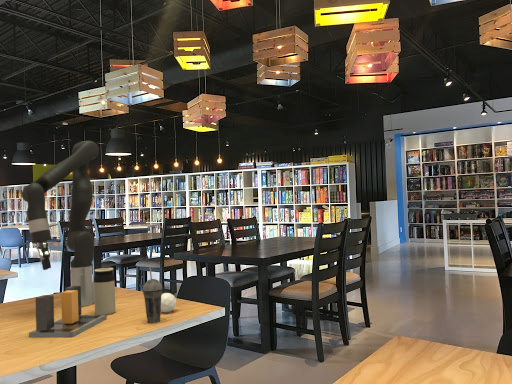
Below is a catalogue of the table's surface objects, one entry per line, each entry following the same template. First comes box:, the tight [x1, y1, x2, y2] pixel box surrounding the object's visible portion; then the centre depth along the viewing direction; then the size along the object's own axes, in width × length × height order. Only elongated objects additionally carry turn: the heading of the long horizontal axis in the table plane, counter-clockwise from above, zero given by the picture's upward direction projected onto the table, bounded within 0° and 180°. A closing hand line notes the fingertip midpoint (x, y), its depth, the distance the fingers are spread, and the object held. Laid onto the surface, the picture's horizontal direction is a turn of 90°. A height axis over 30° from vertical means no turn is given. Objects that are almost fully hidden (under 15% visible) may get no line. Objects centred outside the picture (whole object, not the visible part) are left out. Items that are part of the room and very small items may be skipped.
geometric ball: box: [161, 292, 177, 314], centre depth 171 cm, size 8×8×8 cm
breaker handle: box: [60, 290, 79, 323], centre depth 153 cm, size 4×4×11 cm
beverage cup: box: [142, 267, 163, 324], centre depth 157 cm, size 7×7×20 cm
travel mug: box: [93, 267, 116, 315], centre depth 173 cm, size 8×8×18 cm
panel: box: [28, 285, 108, 338], centre depth 153 cm, size 23×16×13 cm
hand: (47, 269), depth 174 cm, fingers open, 8 cm apart
